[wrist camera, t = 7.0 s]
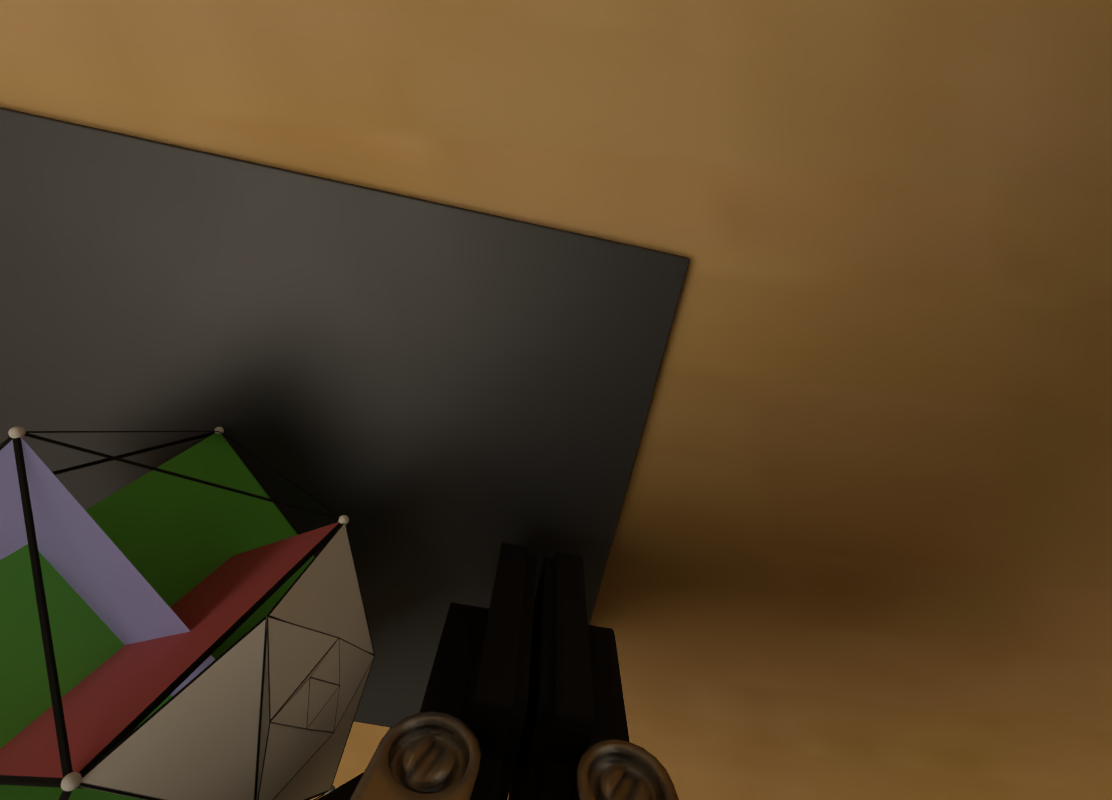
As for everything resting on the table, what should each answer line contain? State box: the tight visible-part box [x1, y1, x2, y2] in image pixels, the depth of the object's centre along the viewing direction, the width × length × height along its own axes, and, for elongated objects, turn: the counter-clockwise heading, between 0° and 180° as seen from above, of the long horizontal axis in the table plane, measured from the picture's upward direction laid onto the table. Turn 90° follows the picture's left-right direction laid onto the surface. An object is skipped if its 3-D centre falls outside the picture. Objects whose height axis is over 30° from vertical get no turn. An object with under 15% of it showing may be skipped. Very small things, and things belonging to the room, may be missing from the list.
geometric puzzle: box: [0, 426, 375, 800], centre depth 9 cm, size 7×7×8 cm
